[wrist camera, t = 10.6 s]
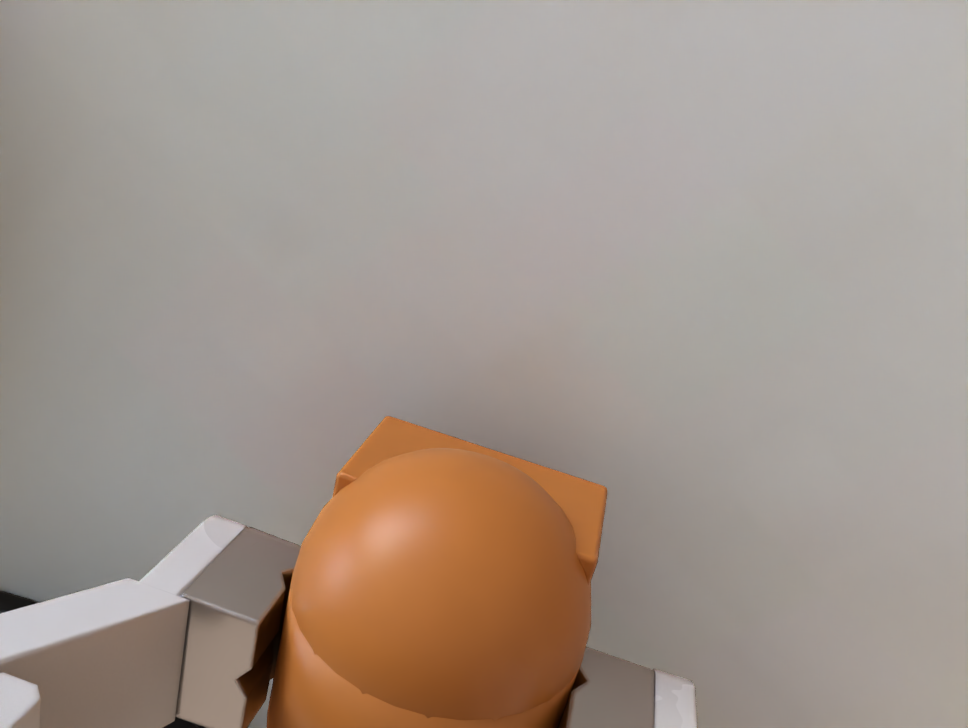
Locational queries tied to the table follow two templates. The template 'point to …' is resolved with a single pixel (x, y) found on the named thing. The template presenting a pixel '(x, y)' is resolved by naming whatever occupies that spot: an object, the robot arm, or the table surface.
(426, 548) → the chicken leg
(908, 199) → the table surface
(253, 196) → the table surface
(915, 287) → the table surface
